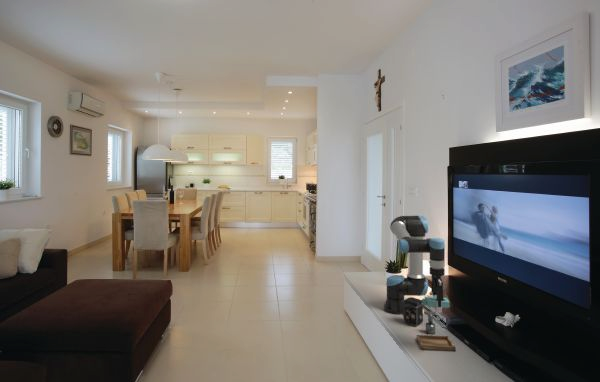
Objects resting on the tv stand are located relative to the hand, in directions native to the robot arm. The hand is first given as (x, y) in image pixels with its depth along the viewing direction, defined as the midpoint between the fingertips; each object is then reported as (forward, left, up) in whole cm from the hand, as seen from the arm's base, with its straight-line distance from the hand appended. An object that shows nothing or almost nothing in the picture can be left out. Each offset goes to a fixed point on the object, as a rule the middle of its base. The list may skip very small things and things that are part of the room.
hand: (437, 309), depth 191 cm
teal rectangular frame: (0, 0, +2) cm, 2 cm away
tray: (0, -1, -19) cm, 19 cm away
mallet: (-15, 0, -19) cm, 24 cm away
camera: (-28, -8, -20) cm, 35 cm away
